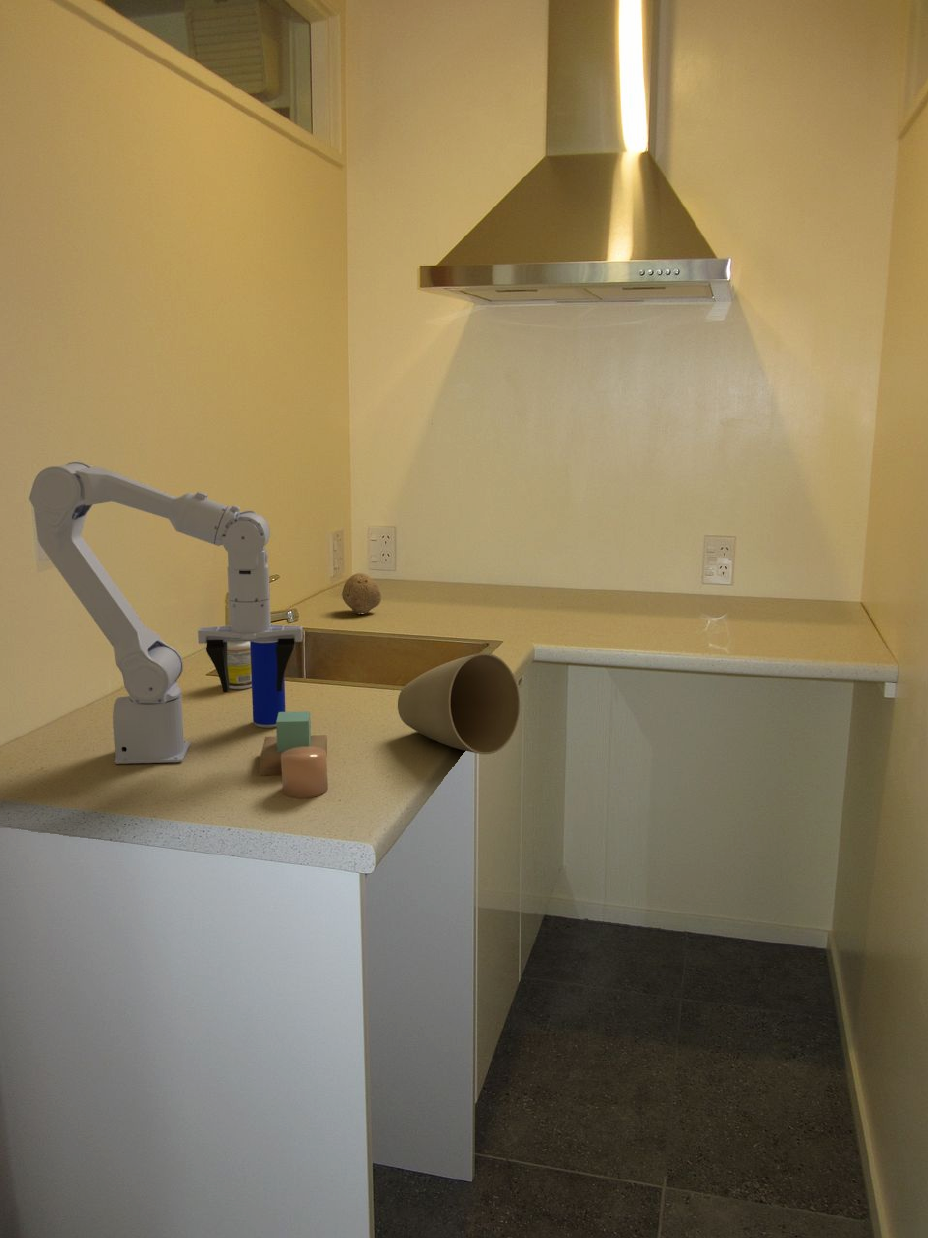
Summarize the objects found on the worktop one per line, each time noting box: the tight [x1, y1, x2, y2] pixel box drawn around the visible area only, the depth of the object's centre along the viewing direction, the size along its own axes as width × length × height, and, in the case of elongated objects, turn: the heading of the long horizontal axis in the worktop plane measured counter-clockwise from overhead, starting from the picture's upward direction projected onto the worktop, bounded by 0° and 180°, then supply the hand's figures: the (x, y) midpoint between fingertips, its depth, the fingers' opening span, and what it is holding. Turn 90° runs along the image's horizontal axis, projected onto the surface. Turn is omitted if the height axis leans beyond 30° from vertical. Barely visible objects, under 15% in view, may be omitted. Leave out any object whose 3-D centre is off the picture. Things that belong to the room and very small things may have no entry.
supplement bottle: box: [227, 642, 252, 690], centre depth 182 cm, size 6×6×10 cm
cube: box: [275, 710, 312, 752], centre depth 145 cm, size 4×4×4 cm
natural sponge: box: [341, 572, 382, 614], centre depth 241 cm, size 9×9×10 cm
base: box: [259, 734, 328, 776], centre depth 145 cm, size 9×9×2 cm
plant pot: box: [397, 652, 521, 755], centre depth 154 cm, size 15×15×16 cm
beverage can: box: [250, 641, 287, 729], centre depth 161 cm, size 5×5×15 cm
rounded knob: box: [281, 747, 329, 799], centre depth 136 cm, size 6×6×5 cm
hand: (253, 689), depth 147 cm, fingers open, 7 cm apart
